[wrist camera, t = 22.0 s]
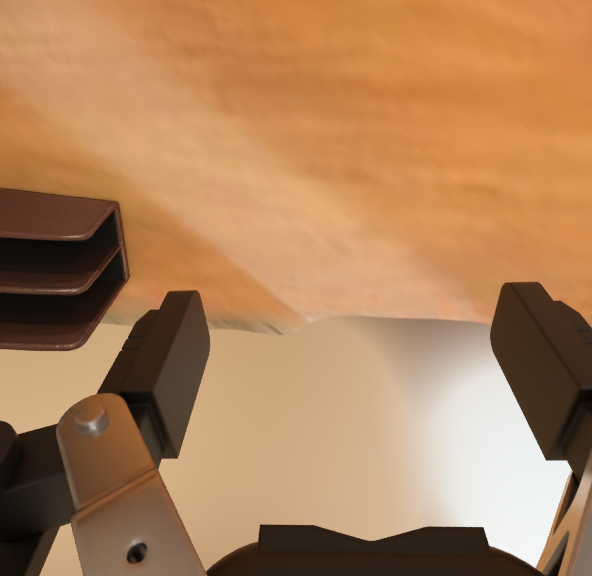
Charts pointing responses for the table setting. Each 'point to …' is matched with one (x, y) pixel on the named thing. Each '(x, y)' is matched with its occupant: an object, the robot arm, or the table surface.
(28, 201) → the letter holder
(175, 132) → the table surface
